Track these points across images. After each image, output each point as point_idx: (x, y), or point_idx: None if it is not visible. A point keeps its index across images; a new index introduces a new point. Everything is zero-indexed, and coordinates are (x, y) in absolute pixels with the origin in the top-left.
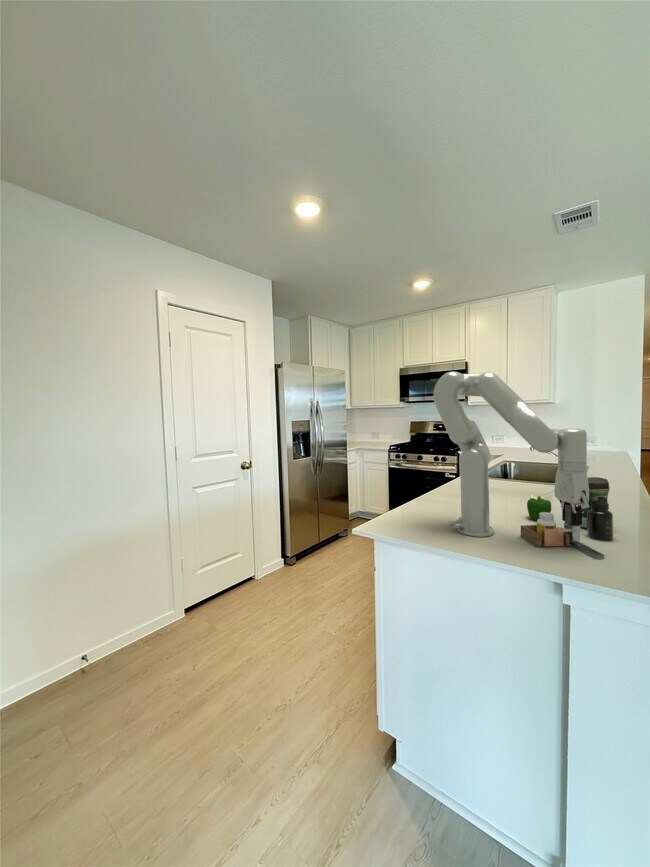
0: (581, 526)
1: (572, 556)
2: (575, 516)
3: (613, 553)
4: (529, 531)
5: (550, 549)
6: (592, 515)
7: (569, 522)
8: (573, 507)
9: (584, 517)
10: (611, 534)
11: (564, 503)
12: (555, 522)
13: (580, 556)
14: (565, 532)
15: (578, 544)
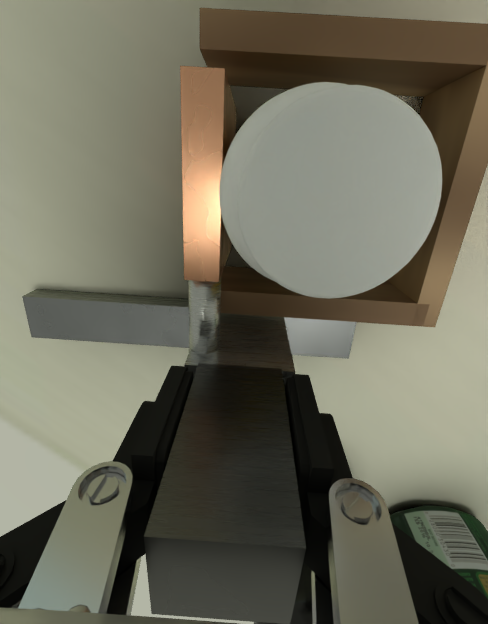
0: (430, 509)
1: (65, 194)
2: (133, 443)
3: (114, 407)
4: (350, 21)
5: (177, 132)
6: (311, 593)
7: (217, 377)
8: (81, 547)
9: None
10: None
11: (335, 579)
12: (253, 264)
13: (69, 239)
14: (238, 312)
15: (178, 320)
